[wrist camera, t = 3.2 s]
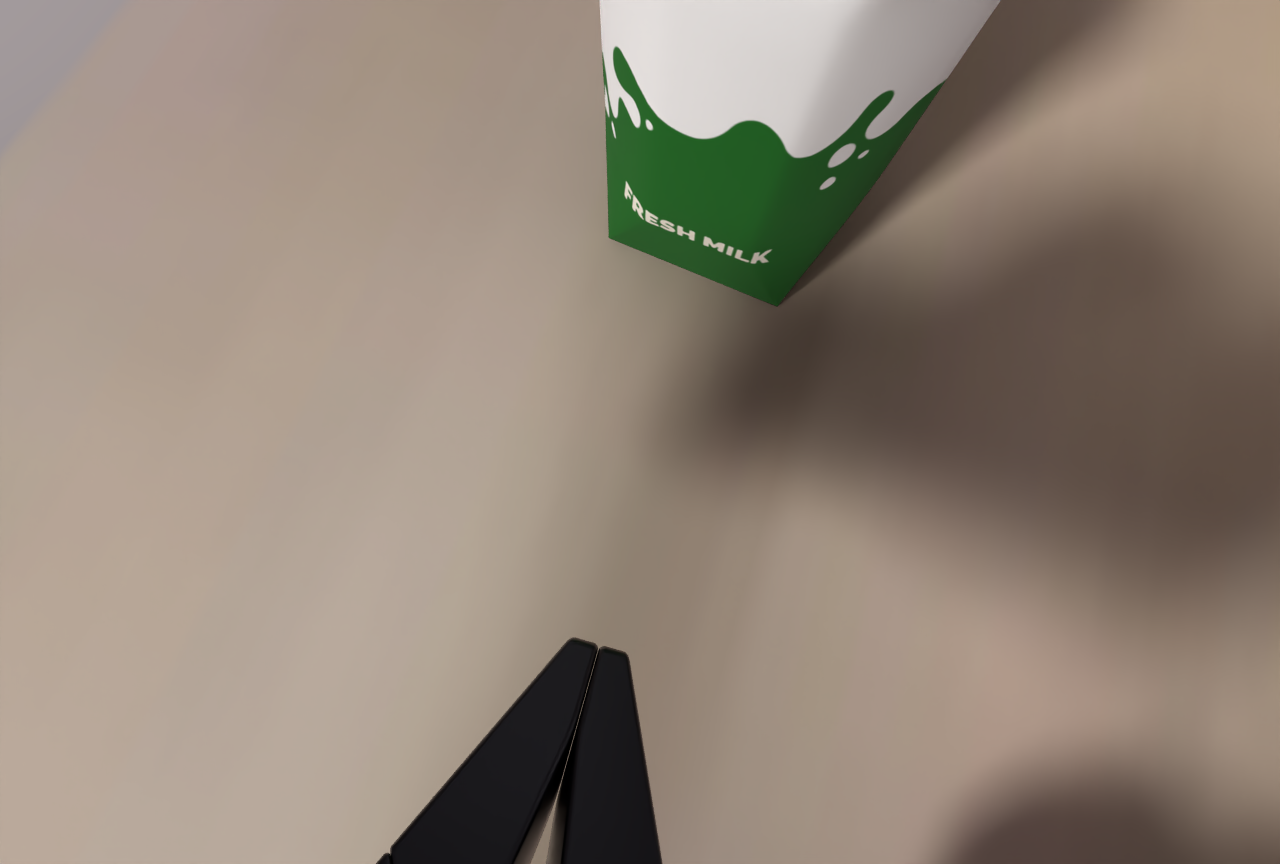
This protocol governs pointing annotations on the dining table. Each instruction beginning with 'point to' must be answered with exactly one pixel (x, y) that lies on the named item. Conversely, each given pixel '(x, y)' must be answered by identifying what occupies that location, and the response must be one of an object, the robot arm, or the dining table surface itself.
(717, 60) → the milk carton
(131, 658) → the dining table surface
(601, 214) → the dining table surface
